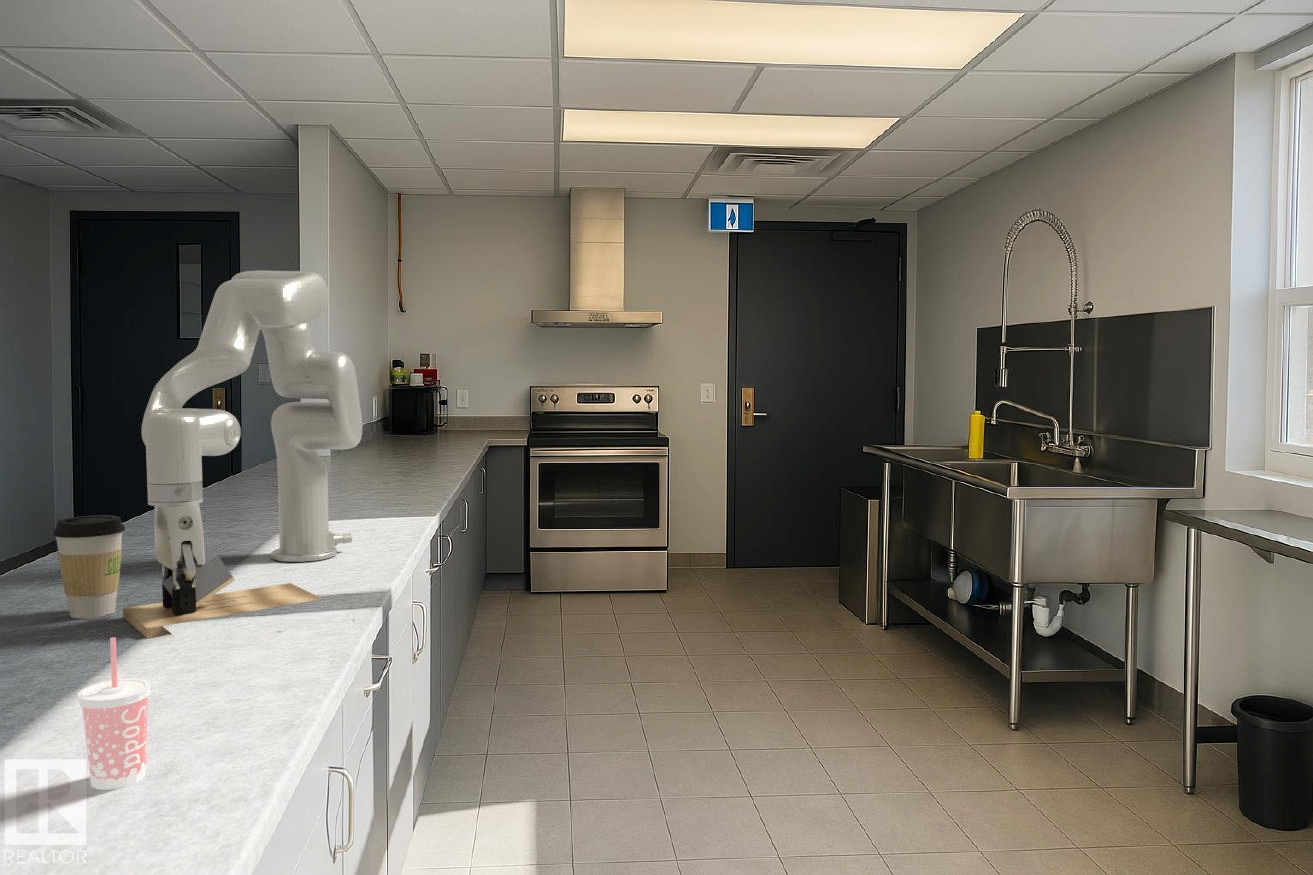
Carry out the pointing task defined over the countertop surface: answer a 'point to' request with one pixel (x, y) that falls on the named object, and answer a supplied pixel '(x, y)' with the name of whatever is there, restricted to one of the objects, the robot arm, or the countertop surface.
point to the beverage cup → (115, 728)
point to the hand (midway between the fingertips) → (179, 608)
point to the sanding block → (206, 578)
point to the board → (216, 607)
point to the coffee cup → (90, 563)
